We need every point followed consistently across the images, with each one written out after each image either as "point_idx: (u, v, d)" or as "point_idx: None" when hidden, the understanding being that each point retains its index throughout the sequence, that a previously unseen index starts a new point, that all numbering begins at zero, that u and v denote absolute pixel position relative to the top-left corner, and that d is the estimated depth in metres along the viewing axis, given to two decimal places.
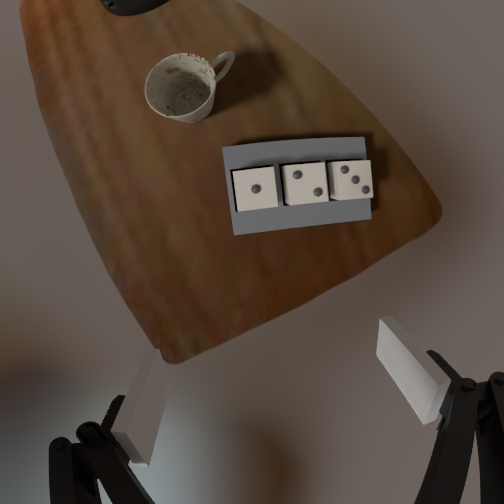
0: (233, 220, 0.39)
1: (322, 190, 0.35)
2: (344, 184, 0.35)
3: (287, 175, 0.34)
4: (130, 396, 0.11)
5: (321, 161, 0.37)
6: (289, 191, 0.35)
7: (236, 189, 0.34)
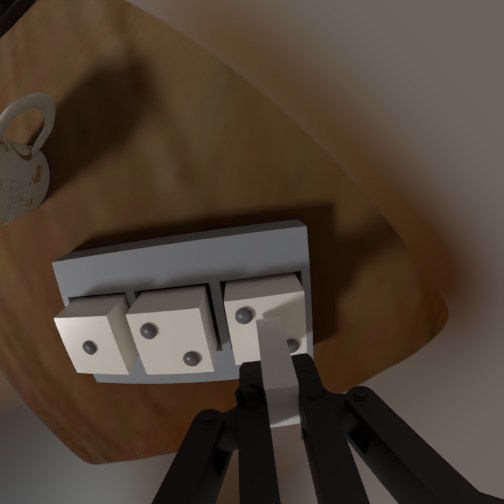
0: None
1: (200, 356, 0.18)
2: (246, 340, 0.18)
3: (132, 330, 0.17)
4: (265, 358, 0.13)
5: (211, 284, 0.20)
6: (141, 355, 0.18)
7: (65, 344, 0.17)
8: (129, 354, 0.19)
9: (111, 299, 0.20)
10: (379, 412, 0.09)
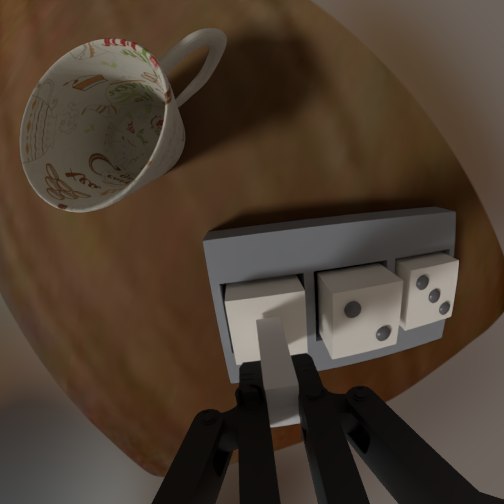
0: (229, 364, 0.21)
1: (391, 329, 0.18)
2: (418, 305, 0.19)
3: (334, 311, 0.17)
4: (265, 358, 0.13)
5: (388, 261, 0.20)
6: (334, 338, 0.17)
7: (232, 332, 0.18)
8: None
9: (283, 276, 0.20)
10: (379, 412, 0.09)
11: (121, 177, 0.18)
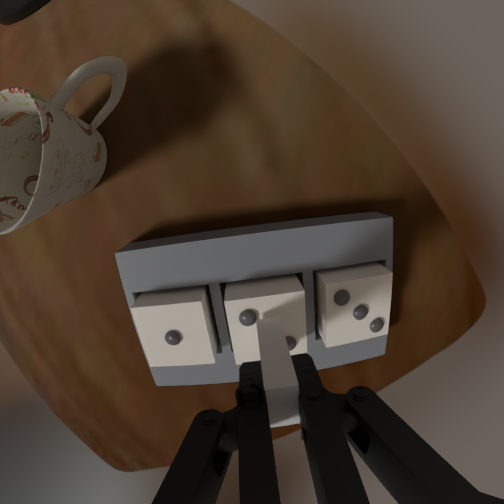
0: (151, 367, 0.21)
1: (297, 339, 0.19)
2: (339, 321, 0.19)
3: (228, 318, 0.18)
4: (265, 358, 0.13)
5: (304, 273, 0.20)
6: (233, 344, 0.18)
7: (141, 336, 0.18)
8: (213, 342, 0.20)
9: None
10: (379, 412, 0.09)
11: None
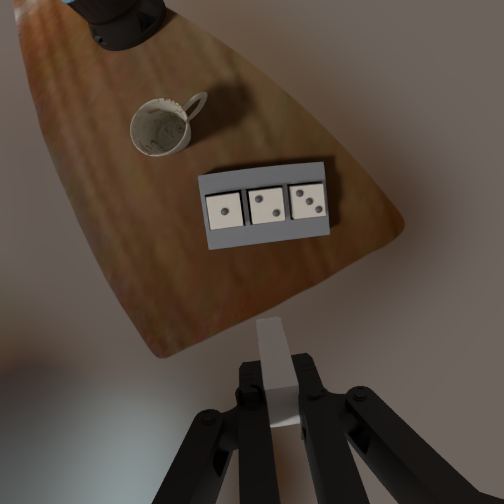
0: (208, 237, 0.46)
1: (280, 211, 0.43)
2: (299, 205, 0.43)
3: (250, 199, 0.43)
4: (265, 358, 0.13)
5: (283, 185, 0.44)
6: (252, 213, 0.43)
7: (209, 212, 0.43)
8: None
9: None
10: (379, 412, 0.09)
11: (163, 150, 0.42)
